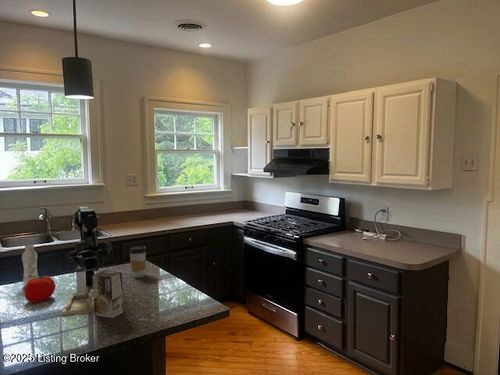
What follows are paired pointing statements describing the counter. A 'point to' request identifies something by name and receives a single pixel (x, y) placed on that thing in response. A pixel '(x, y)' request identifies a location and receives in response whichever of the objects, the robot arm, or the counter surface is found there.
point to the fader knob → (81, 283)
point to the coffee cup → (138, 261)
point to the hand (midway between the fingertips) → (92, 269)
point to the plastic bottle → (29, 263)
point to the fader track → (79, 304)
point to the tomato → (39, 289)
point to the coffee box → (108, 294)
